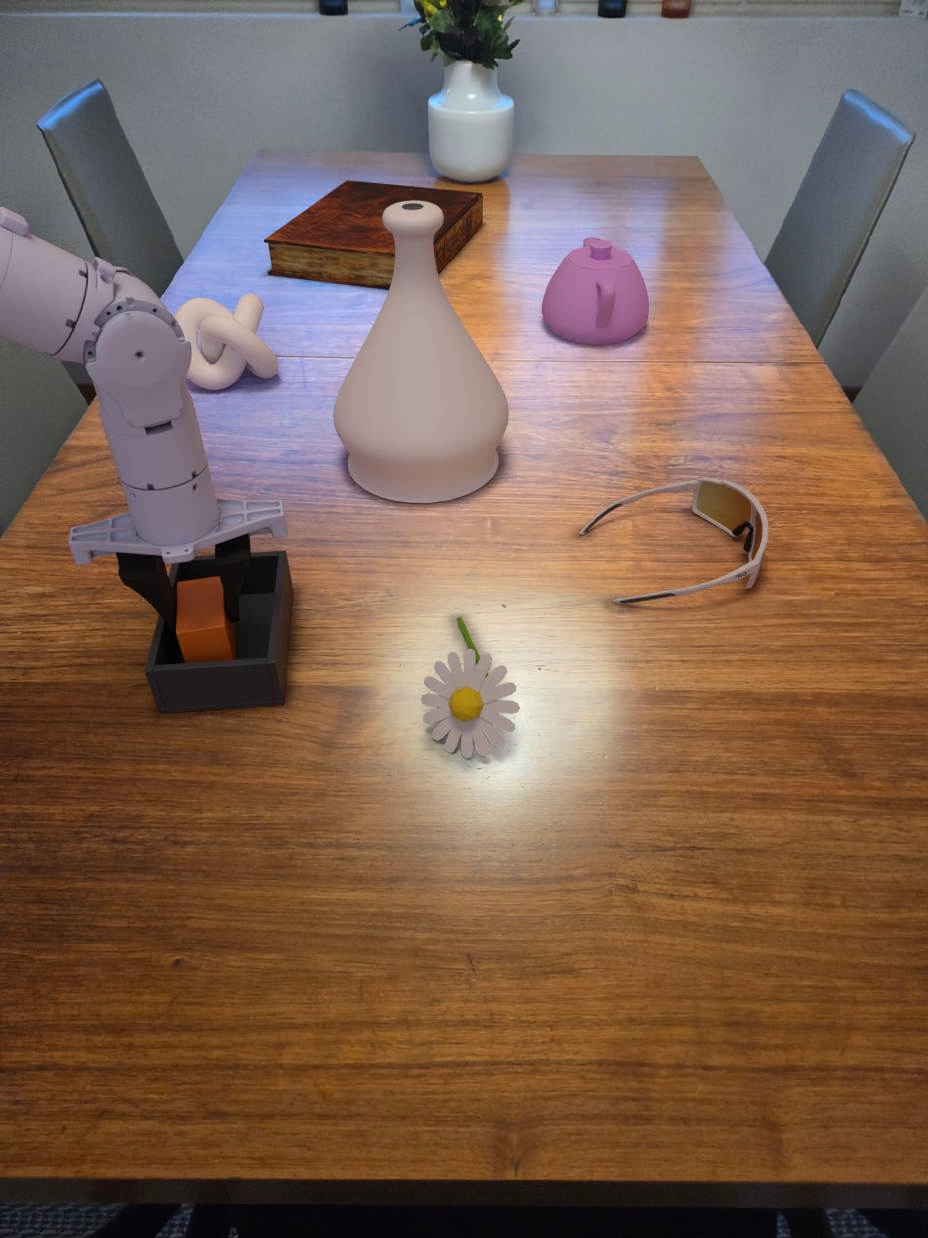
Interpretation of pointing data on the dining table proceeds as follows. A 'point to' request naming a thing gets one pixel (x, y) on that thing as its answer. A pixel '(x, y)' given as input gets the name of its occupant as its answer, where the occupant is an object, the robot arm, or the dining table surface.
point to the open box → (257, 643)
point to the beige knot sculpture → (225, 341)
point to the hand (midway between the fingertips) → (205, 618)
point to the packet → (204, 621)
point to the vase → (419, 383)
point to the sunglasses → (723, 509)
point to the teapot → (596, 295)
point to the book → (365, 233)
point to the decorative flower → (469, 701)
